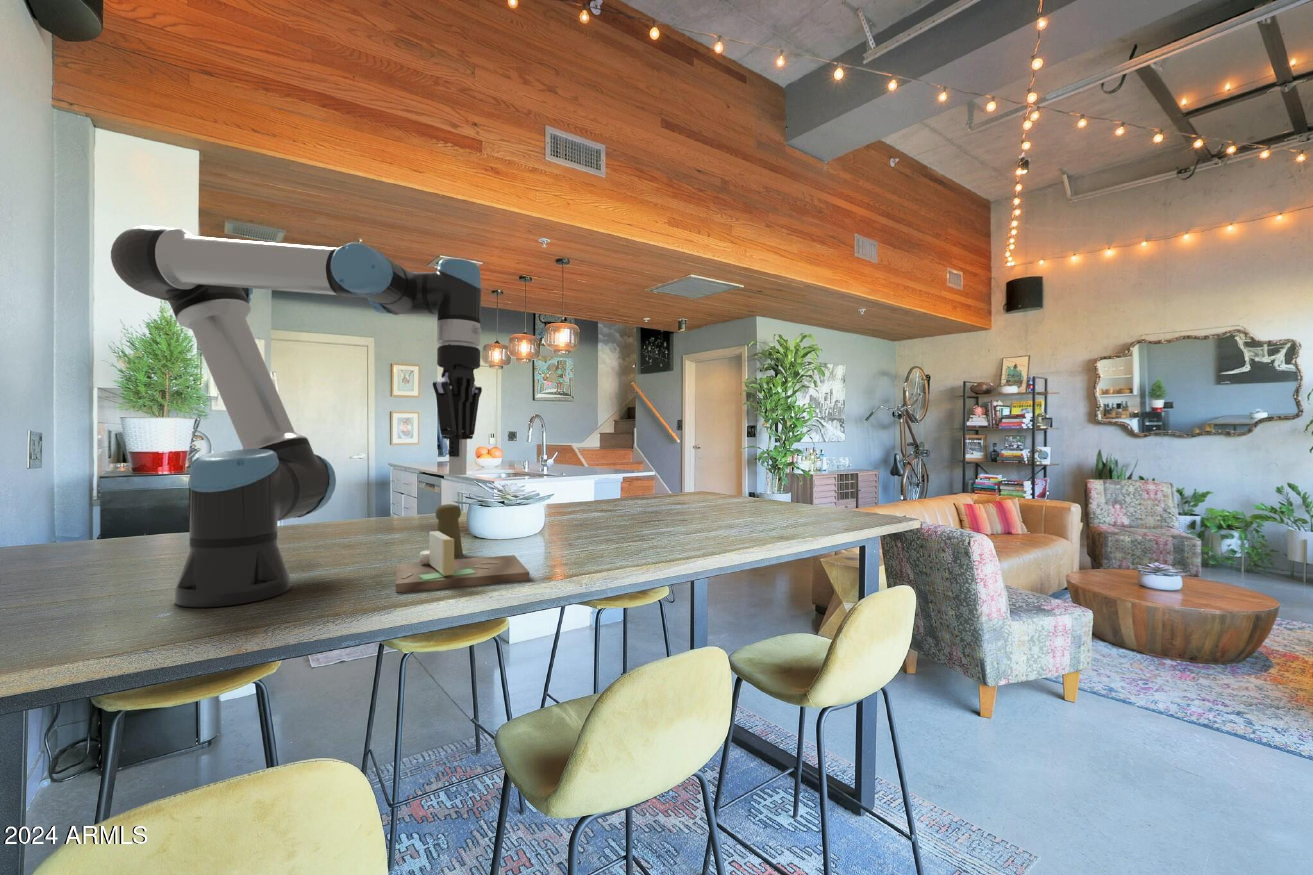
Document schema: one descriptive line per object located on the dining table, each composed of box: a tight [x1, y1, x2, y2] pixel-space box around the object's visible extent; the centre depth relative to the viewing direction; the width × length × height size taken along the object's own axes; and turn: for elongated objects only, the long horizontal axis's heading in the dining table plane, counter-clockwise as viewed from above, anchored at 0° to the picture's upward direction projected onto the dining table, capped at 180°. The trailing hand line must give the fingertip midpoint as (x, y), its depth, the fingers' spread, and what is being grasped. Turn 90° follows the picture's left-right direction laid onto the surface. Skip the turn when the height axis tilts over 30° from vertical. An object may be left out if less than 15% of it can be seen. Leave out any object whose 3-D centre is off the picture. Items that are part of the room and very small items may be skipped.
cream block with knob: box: [419, 530, 455, 576], centre depth 107 cm, size 15×4×6 cm, turn 34°
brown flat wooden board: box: [395, 554, 530, 594], centre depth 109 cm, size 22×16×2 cm
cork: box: [435, 503, 464, 558], centre depth 127 cm, size 6×6×11 cm
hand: (457, 474), depth 108 cm, fingers closed
